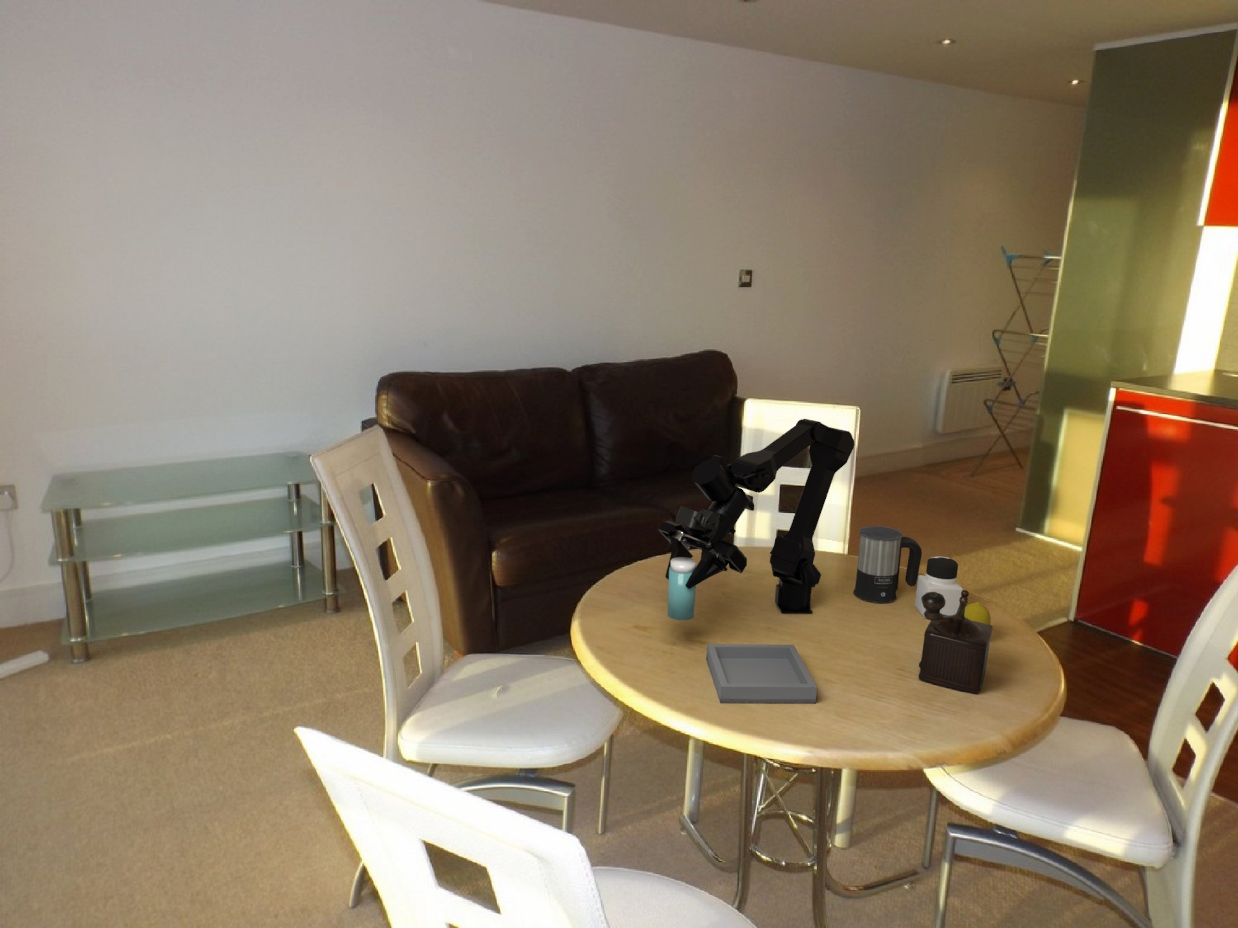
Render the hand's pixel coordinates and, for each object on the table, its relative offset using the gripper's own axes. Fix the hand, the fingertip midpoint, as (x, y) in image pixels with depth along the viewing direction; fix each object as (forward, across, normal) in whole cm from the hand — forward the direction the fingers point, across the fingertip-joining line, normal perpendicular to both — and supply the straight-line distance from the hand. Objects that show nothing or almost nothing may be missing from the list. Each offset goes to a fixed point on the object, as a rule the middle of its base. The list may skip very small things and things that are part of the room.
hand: (676, 582), depth 162 cm
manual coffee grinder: (-12, +38, +32) cm, 51 cm away
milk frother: (-31, +4, +51) cm, 60 cm away
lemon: (-26, +31, +46) cm, 61 cm away
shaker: (+4, 0, +6) cm, 7 cm away
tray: (+7, +17, +12) cm, 22 cm away
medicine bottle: (-31, +19, +50) cm, 62 cm away
